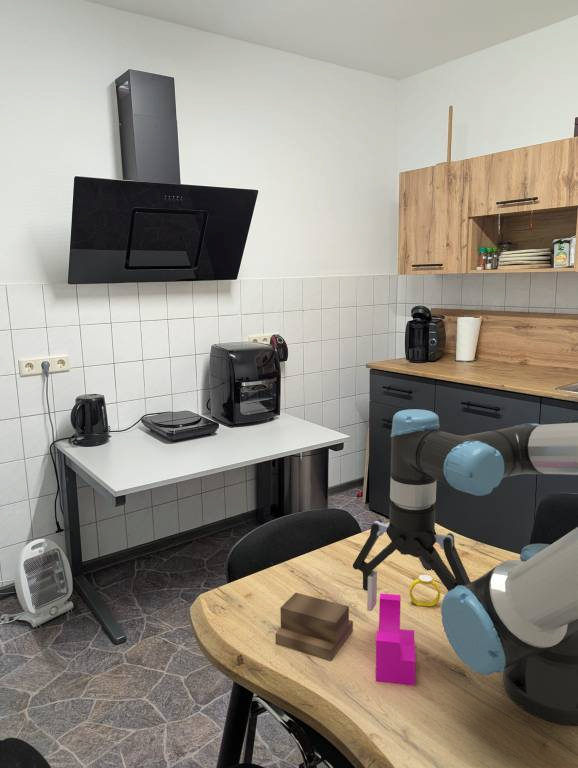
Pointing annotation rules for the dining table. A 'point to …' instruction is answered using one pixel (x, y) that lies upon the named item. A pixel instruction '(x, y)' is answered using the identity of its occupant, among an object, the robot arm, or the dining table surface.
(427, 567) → the black smartphone
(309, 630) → the brown stepped wooden stand
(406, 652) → the toy block
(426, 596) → the dining table surface
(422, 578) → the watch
